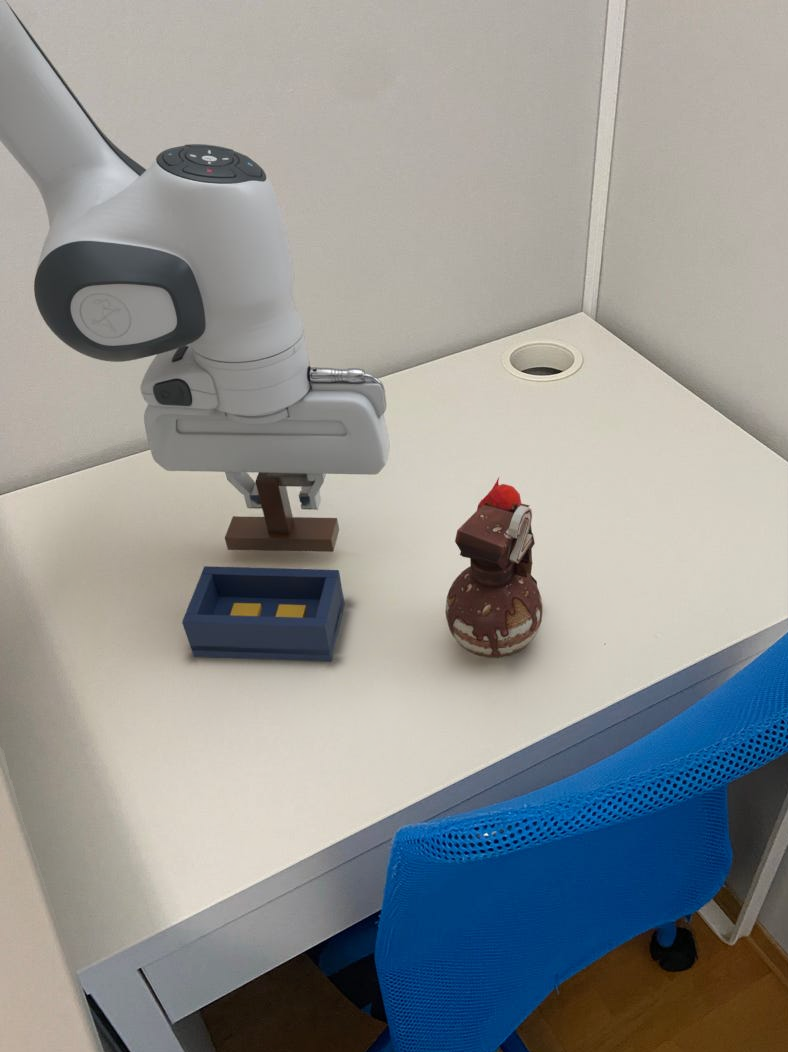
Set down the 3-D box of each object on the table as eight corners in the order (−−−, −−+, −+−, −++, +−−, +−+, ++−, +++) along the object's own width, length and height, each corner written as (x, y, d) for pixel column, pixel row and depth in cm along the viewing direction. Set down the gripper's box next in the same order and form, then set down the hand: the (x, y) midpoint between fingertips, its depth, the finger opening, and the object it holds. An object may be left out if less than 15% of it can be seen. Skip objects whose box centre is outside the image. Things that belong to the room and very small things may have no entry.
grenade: (479, 590, 86) (474, 453, 75) (561, 616, 83) (569, 477, 72) (431, 659, 80) (419, 521, 69) (518, 689, 77) (520, 550, 66)
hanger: (227, 550, 87) (208, 484, 82) (236, 528, 90) (217, 462, 84) (333, 552, 87) (321, 485, 81) (339, 530, 89) (327, 463, 83)
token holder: (193, 657, 80) (181, 622, 77) (214, 600, 85) (204, 565, 82) (331, 661, 80) (324, 626, 77) (345, 604, 85) (339, 569, 82)
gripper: (387, 349, 77) (401, 486, 87) (144, 346, 78) (185, 482, 88) (377, 390, 72) (393, 529, 82) (119, 387, 74) (165, 524, 84)
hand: (284, 505), depth 85 cm, fingers closed on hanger, 3 cm apart
